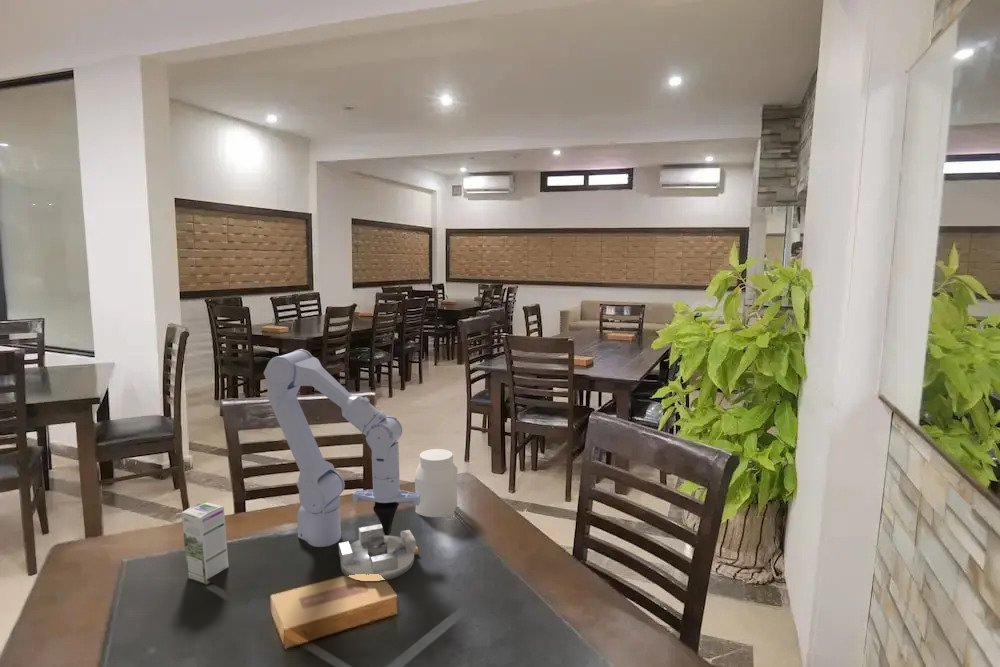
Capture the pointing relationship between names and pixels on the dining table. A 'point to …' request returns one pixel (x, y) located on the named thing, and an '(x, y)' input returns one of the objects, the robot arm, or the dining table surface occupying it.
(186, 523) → the syrup box
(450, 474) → the jar
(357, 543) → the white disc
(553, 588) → the dining table surface
